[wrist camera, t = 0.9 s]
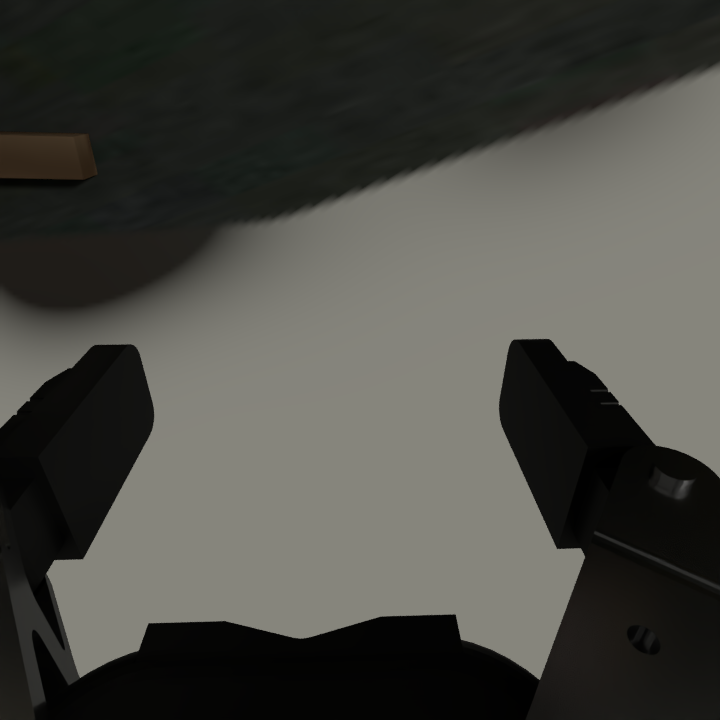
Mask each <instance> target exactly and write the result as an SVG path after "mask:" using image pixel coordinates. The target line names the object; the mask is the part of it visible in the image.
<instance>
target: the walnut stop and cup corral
mask: <svg viewBox="0 0 720 720" xmlns="http://www.w3.org/2000/svg"><path fill="white" fill-rule="evenodd" d="M95 175H97V169H96V165H95V161H94V156H93V152H92V148H91V143H90V139H89V135H88V134H82V133H40V132H0V178H29V179H78V180H84V179H87V178H90V177H92V176H95Z"/></svg>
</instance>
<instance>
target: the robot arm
mask: <svg viewBox="0 0 720 720" xmlns="http://www.w3.org/2000/svg"><path fill="white" fill-rule="evenodd" d="M618 403H619V402H618V400H617V399H616V398H615V397H614V396H613V394H612V393H611V392H608V389H607V387H606V386H605V385H604V384H603V383H602V381H601V380H600V379H599V378H598V377H597V376H596V374H594V373H593V372H591V371H589V370H588V369H586V368H585V367H583V366H582V365H580V364H578V363H577V362H575V361H567V360H566V359H565V357H564V356H563V355H562V354H561V352H560V351H559V350H558V349H557V347H556V346H555V345H554V343H553V342H552V341H551V340H549V339H522V340H513V341H512V342H511V344H510V346H509V350H508V355H507V361H506V366H505V372H504V378H503V384H502V389H501V395H500V401H499V413H500V421H501V425H502V428H503V430H504V432H505V435H506V437H507V439H508V441H509V443H510V446H511V448H512V450H513V452H514V454H515V457H516V459H517V461H518V463H519V465H520V468H521V470H522V472H523V474H524V477H525V479H526V481H527V483H528V485H529V488H530V490H531V492H532V494H533V496H534V499H535V501H536V503H537V505H538V508H539V510H540V512H541V514H542V516H543V519H544V521H545V523H546V525H547V528H548V530H549V532H550V534H551V536H552V539H553V541H554V543H555V545H556V547H557V549H566V548H581V549H582V551H583V553H584V555H585V559H584V562H583V565H582V567H581V570H580V573H579V575H578V578H577V581H576V584H575V586H574V589H573V592H572V595H571V597H570V600H569V603H568V605H567V608H566V611H565V613H564V616H563V619H562V622H561V625H560V627H559V630H558V633H557V635H556V638H555V641H554V643H553V646H552V649H551V652H550V654H549V657H548V660H547V663H546V665H545V668H544V671H543V673H542V677H541V679H540V680H539V679H537V678H536V677H535V676H534V675H532V674H531V673H529V671H527V670H526V669H524V668H522V667H521V666H519V665H518V664H516V663H515V662H513V661H512V660H510V659H508V658H506V657H505V656H503V655H500V654H498V653H497V652H495V651H493V650H491V649H488V648H485V647H482V646H480V645H477V644H474V643H471V642H467V641H463V640H461V639H460V634H459V629H458V624H457V619H456V615H422V616H387V617H378V618H375V619H371V620H368V621H364V622H361V623H358V624H354V625H351V626H348V627H344V628H341V629H337V630H334V631H331V632H327V633H324V634H320V635H317V636H313V637H309V638H304V639H298V638H292V637H288V636H284V635H280V634H276V633H271V632H267V631H263V630H259V629H255V628H251V627H247V626H242V625H238V624H234V623H230V622H226V621H218V622H187V623H186V622H184V623H183V622H182V623H149V624H148V626H147V629H146V632H145V635H144V638H143V640H142V643H141V646H140V649H139V651H137V652H133V653H130V654H128V655H125V656H122V657H120V658H118V659H115V660H113V661H110V662H108V663H106V664H104V665H102V666H101V667H98V668H97V669H95V670H93V671H91V672H89V673H87V674H86V675H84V676H83V677H81V678H80V677H79V675H78V672H77V669H76V666H75V664H74V660H73V657H72V653H71V650H70V646H69V643H68V639H67V636H66V632H65V629H64V626H63V622H62V619H61V616H60V612H59V608H58V605H57V601H56V598H55V594H54V591H53V588H52V584H51V582H50V580H49V578H48V576H47V574H46V573H47V571H48V569H49V568H50V566H51V565H52V563H53V561H54V560H69V559H71V560H72V559H83V558H84V556H85V555H86V553H87V551H88V549H89V547H90V545H91V543H92V542H93V540H94V538H95V536H96V534H97V532H98V530H99V528H100V527H101V525H102V523H103V521H104V519H105V517H106V515H107V514H108V512H109V510H110V508H111V506H112V504H113V502H114V501H115V499H116V497H117V495H118V493H119V491H120V489H121V488H122V485H123V484H124V482H125V480H126V478H127V476H128V475H129V473H130V471H131V469H132V467H133V465H134V463H135V462H136V460H137V458H138V456H139V454H140V452H141V450H142V448H143V446H144V445H145V443H146V441H147V439H148V437H149V435H150V433H151V431H152V428H153V422H154V408H153V403H152V399H151V395H150V391H149V388H148V384H147V380H146V376H145V372H144V369H143V365H142V361H141V358H140V354H139V352H138V350H137V348H136V347H135V346H134V345H131V344H130V345H94V346H93V347H91V348H90V349H89V350H88V352H87V353H86V354H85V355H84V356H83V357H82V358H81V359H80V360H79V361H78V362H77V363H76V364H75V366H74V367H73V368H69V369H67V370H65V371H64V372H62V373H60V374H58V375H57V376H55V377H53V378H52V379H50V380H48V381H46V382H45V383H44V384H43V385H42V386H41V387H40V388H39V389H38V390H37V391H36V393H34V394H33V396H31V397H30V401H27V402H26V403H25V404H24V405H23V406H22V407H21V408H20V409H19V410H18V411H17V415H13V416H12V417H11V418H10V419H9V420H8V421H7V422H6V423H5V424H4V425H3V426H2V427H1V428H0V720H720V478H719V477H718V476H717V475H716V474H715V473H714V472H713V471H712V470H711V469H710V468H709V467H707V466H706V465H705V464H703V463H702V462H700V461H698V460H697V459H695V458H693V457H691V456H689V455H687V454H685V453H682V452H679V451H677V450H673V449H670V448H665V447H659V446H656V445H655V444H654V443H653V442H652V441H651V440H650V438H649V437H648V436H647V435H646V434H645V432H644V431H643V430H642V429H641V428H640V427H639V425H638V424H637V423H636V422H635V421H634V419H633V418H632V417H631V416H630V415H629V413H628V412H627V411H626V410H625V409H624V408H623V406H621V405H619V404H618Z"/></svg>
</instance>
